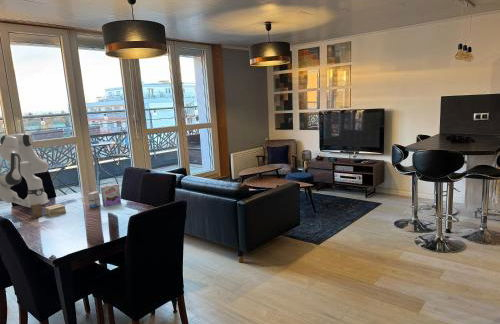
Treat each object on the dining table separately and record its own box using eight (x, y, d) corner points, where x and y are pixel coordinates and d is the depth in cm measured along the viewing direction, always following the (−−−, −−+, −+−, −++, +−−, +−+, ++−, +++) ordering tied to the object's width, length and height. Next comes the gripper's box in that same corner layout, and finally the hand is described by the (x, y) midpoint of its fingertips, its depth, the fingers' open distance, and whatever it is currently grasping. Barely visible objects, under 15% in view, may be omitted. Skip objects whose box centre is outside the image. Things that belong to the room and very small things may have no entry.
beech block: (46, 214, 269) (44, 207, 268) (61, 210, 277) (59, 203, 276) (50, 217, 262) (49, 209, 261) (66, 213, 270) (64, 205, 269)
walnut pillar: (32, 216, 264) (30, 204, 263) (39, 215, 268) (37, 202, 267) (35, 217, 261) (33, 205, 260) (42, 216, 265) (40, 203, 263)
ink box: (94, 207, 280) (92, 193, 278) (89, 207, 281) (87, 193, 279) (101, 204, 288) (99, 191, 286) (95, 204, 289) (94, 191, 287)
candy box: (103, 206, 281) (101, 187, 278) (102, 205, 286) (100, 186, 283) (121, 203, 287) (118, 184, 285) (120, 202, 292) (117, 183, 290)
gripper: (18, 194, 245) (36, 204, 254) (8, 191, 257) (25, 200, 267) (12, 202, 242) (30, 211, 251) (3, 198, 255) (20, 207, 264)
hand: (27, 206), depth 259 cm, fingers open, 8 cm apart
